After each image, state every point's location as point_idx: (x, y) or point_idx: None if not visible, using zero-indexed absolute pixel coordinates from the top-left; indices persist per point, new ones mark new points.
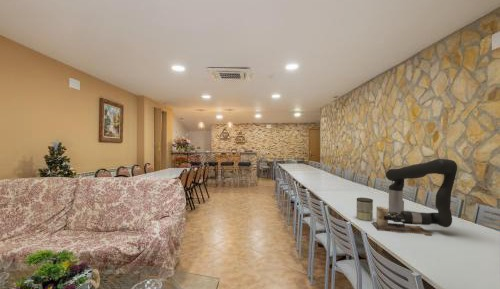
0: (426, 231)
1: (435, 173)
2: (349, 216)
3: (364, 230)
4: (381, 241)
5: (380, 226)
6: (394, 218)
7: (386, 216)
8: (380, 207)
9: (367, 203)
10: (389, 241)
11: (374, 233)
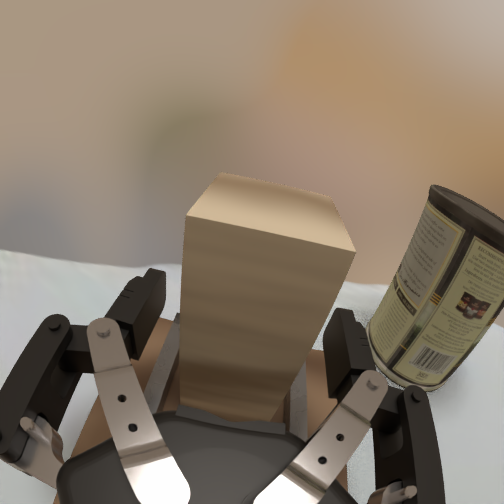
0: None
1: None
2: None
3: (173, 268)
4: (26, 257)
5: (175, 334)
6: (51, 323)
7: (140, 280)
8: (281, 195)
9: (437, 220)
10: (7, 283)
11: (116, 285)
